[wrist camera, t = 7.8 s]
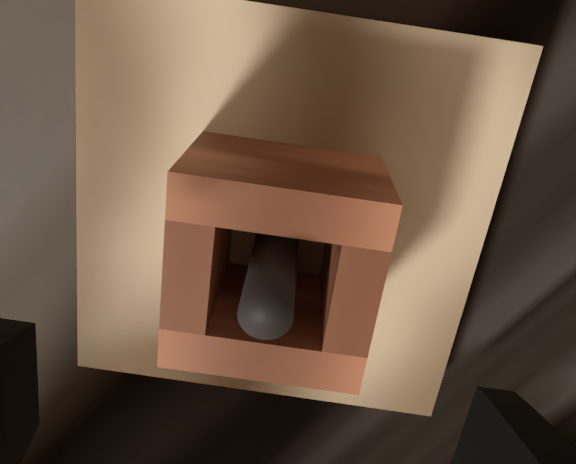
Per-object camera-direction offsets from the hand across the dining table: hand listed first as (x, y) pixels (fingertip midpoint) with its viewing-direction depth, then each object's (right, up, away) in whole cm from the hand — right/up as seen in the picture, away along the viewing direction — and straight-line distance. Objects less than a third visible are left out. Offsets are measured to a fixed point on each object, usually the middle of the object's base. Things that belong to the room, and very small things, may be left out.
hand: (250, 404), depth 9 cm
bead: (0, +3, +7) cm, 8 cm away
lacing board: (0, +3, +9) cm, 9 cm away
